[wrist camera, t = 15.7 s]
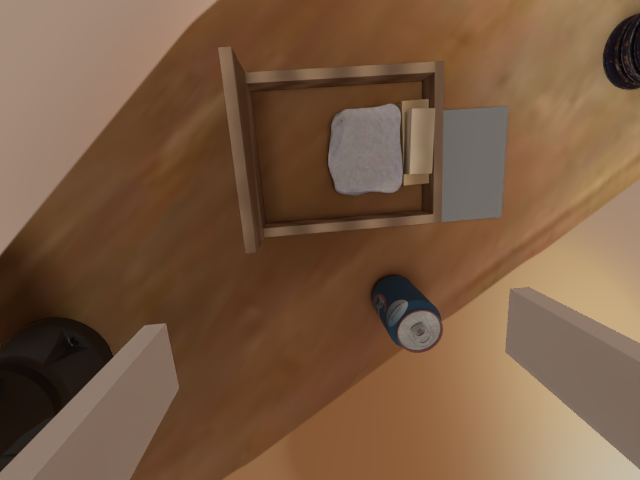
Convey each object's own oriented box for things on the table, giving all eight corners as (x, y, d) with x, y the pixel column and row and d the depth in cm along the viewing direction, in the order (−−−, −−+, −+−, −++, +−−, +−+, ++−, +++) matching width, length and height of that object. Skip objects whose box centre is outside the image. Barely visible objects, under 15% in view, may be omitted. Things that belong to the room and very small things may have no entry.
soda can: (361, 288, 49) (382, 325, 37) (399, 265, 48) (432, 295, 37) (383, 321, 50) (409, 367, 39) (419, 299, 50) (457, 338, 38)
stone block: (333, 197, 47) (400, 191, 45) (330, 199, 42) (405, 192, 41) (325, 114, 44) (396, 105, 43) (322, 107, 40) (401, 96, 38)
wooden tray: (258, 232, 46) (245, 253, 34) (240, 82, 41) (218, 47, 29) (429, 217, 47) (473, 233, 35) (430, 71, 42) (481, 33, 31)
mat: (431, 222, 47) (432, 222, 47) (432, 111, 44) (433, 110, 43) (500, 216, 48) (501, 216, 48) (507, 106, 44) (508, 106, 44)
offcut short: (403, 173, 43) (409, 174, 40) (405, 112, 41) (411, 108, 38) (424, 173, 43) (432, 173, 40) (427, 111, 41) (435, 108, 39)
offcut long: (397, 184, 46) (403, 185, 43) (394, 105, 43) (401, 100, 41) (420, 182, 46) (428, 183, 43) (419, 103, 44) (428, 98, 41)
